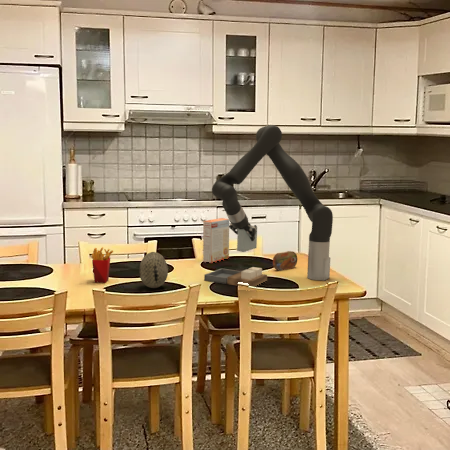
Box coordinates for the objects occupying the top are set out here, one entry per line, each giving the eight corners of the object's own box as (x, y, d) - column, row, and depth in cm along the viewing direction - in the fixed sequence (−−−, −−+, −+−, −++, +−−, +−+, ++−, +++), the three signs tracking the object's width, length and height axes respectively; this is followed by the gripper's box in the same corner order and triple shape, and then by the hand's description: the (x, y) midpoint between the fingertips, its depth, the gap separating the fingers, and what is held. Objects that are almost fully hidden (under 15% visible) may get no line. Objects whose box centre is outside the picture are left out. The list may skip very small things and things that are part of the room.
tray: (242, 277, 276) (243, 271, 275) (226, 284, 263) (226, 278, 263) (221, 273, 281) (221, 268, 281) (204, 280, 268) (204, 274, 268)
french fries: (95, 279, 266) (95, 245, 264) (114, 279, 266) (114, 245, 263) (90, 284, 257) (90, 249, 255) (110, 284, 257) (109, 249, 255)
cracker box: (220, 257, 316) (221, 217, 313) (229, 259, 312) (230, 218, 309) (202, 261, 305) (202, 220, 302) (211, 263, 302) (212, 221, 298)
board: (266, 281, 269) (267, 274, 269) (252, 288, 257) (252, 281, 257) (242, 277, 275) (243, 271, 275) (227, 284, 263) (227, 277, 263)
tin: (275, 271, 288) (276, 254, 287) (271, 270, 291) (271, 253, 289) (297, 267, 298) (298, 250, 297) (292, 266, 301) (293, 249, 299)
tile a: (261, 275, 268) (262, 268, 268) (257, 277, 264) (257, 270, 264) (252, 273, 270) (252, 266, 270) (247, 275, 267) (248, 268, 266)
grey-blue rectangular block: (256, 248, 285) (257, 226, 284) (243, 252, 275) (244, 230, 274) (249, 247, 287) (250, 225, 285) (237, 251, 277) (237, 229, 275)
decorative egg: (170, 290, 251) (170, 254, 248) (141, 292, 247) (141, 255, 245) (164, 283, 262) (165, 248, 259) (137, 284, 258) (137, 249, 256)
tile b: (255, 277, 263) (255, 270, 263) (250, 279, 259) (250, 272, 259) (246, 276, 265) (246, 269, 265) (241, 278, 261) (241, 271, 261)
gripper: (254, 210, 268) (266, 234, 280) (226, 207, 275) (239, 231, 288) (247, 224, 264) (260, 247, 277) (219, 220, 272) (233, 243, 284)
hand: (249, 239), depth 282 cm, fingers closed on grey-blue rectangular block, 3 cm apart
